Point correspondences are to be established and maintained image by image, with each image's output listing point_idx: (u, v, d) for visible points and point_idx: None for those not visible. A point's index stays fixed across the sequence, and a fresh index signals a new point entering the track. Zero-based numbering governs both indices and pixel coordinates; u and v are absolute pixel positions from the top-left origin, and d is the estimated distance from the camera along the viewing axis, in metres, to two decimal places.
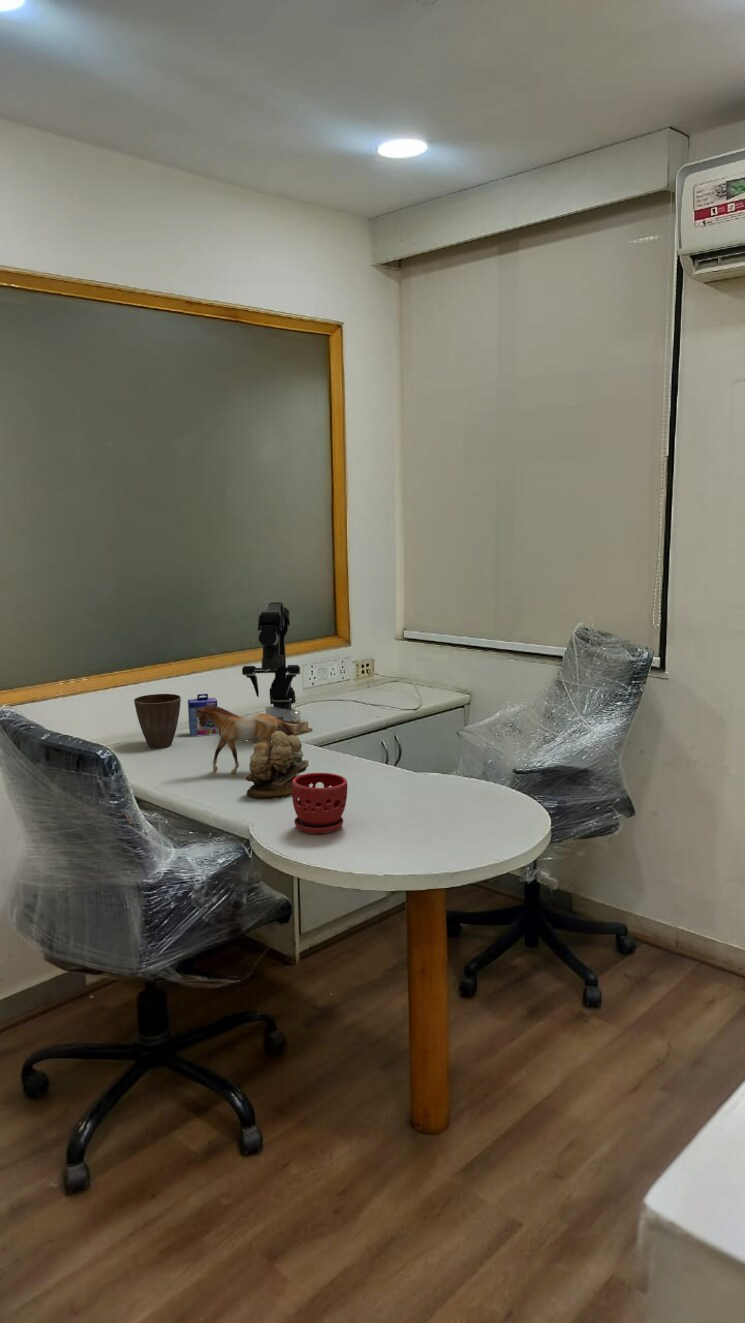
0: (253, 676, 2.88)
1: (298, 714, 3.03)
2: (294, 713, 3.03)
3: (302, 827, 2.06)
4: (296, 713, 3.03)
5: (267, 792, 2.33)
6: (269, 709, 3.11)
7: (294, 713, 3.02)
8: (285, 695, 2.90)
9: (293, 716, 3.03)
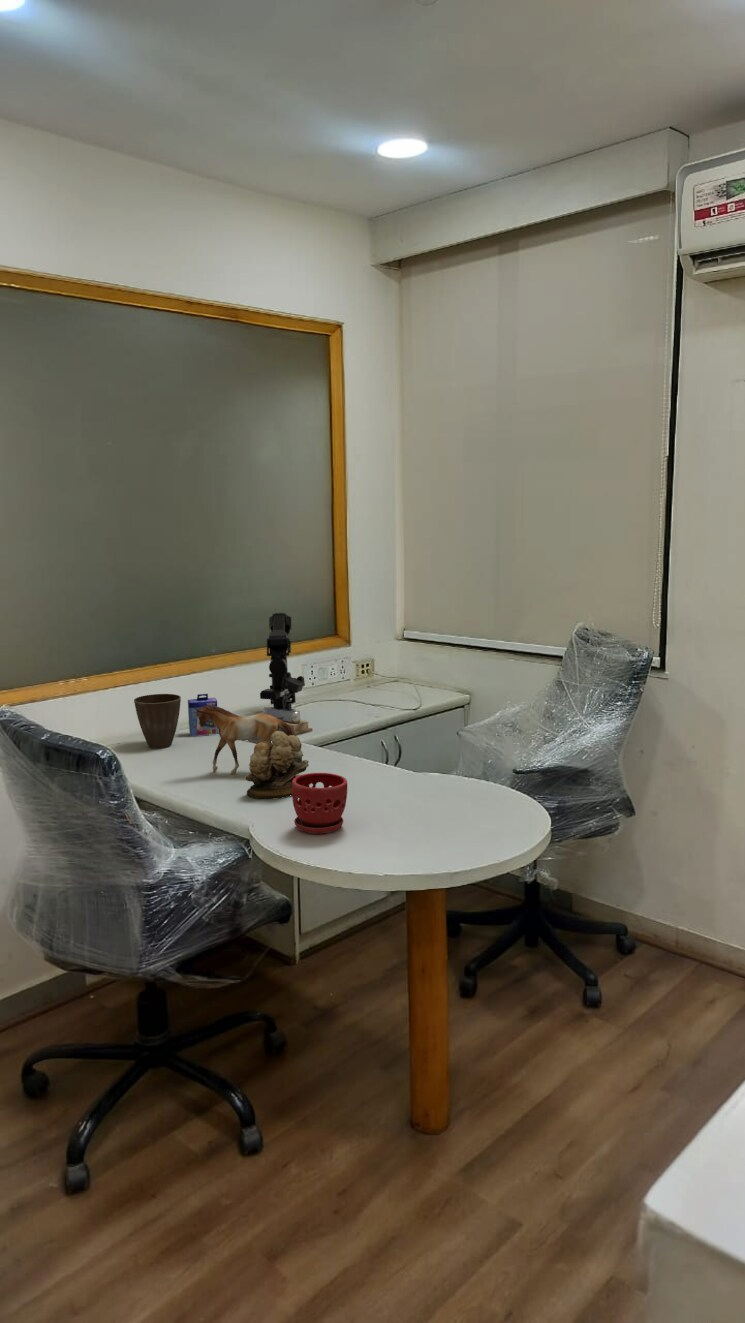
0: (286, 696, 3.08)
1: (298, 714, 3.03)
2: (294, 713, 3.03)
3: (302, 827, 2.06)
4: (296, 713, 3.03)
5: (267, 792, 2.33)
6: (268, 709, 3.10)
7: (295, 713, 3.02)
8: None
9: (293, 716, 3.03)
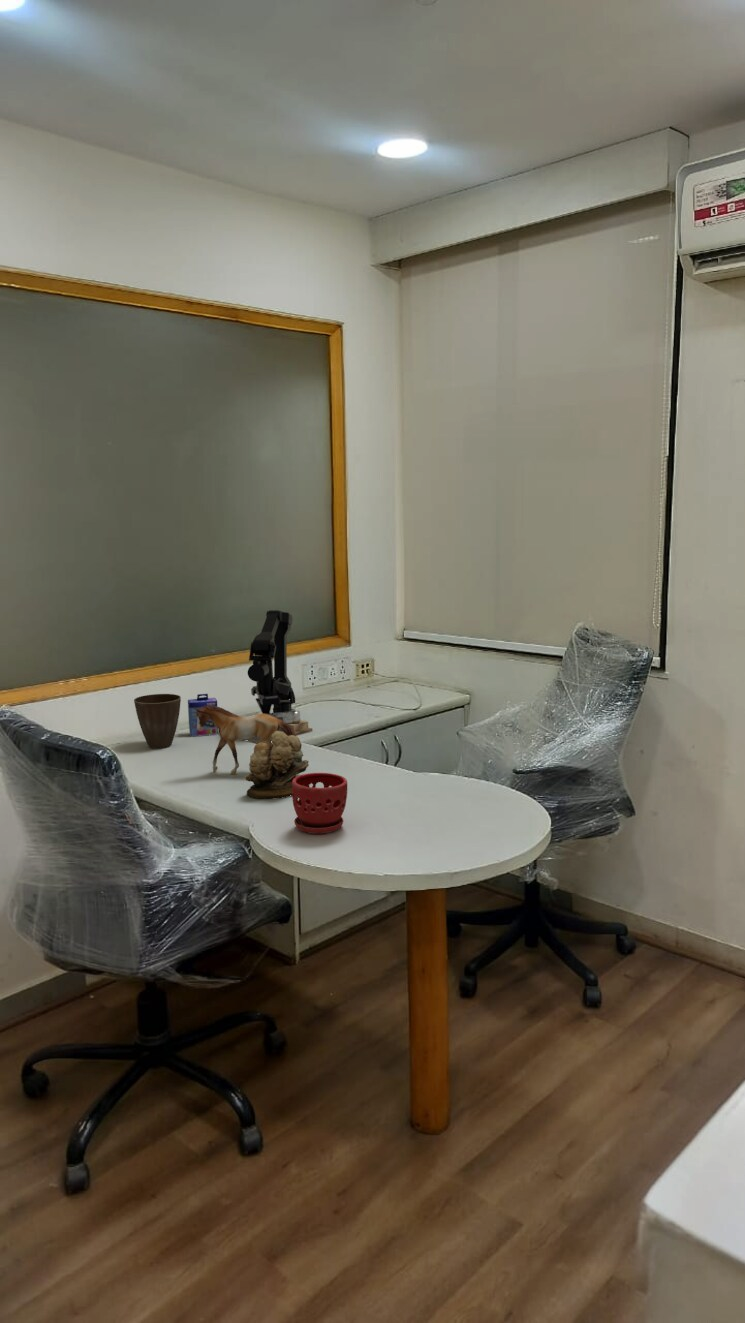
0: None
1: (299, 713, 3.04)
2: (298, 713, 3.03)
3: (302, 827, 2.06)
4: (299, 712, 3.04)
5: (267, 792, 2.33)
6: None
7: (299, 713, 3.03)
8: None
9: (297, 716, 3.03)
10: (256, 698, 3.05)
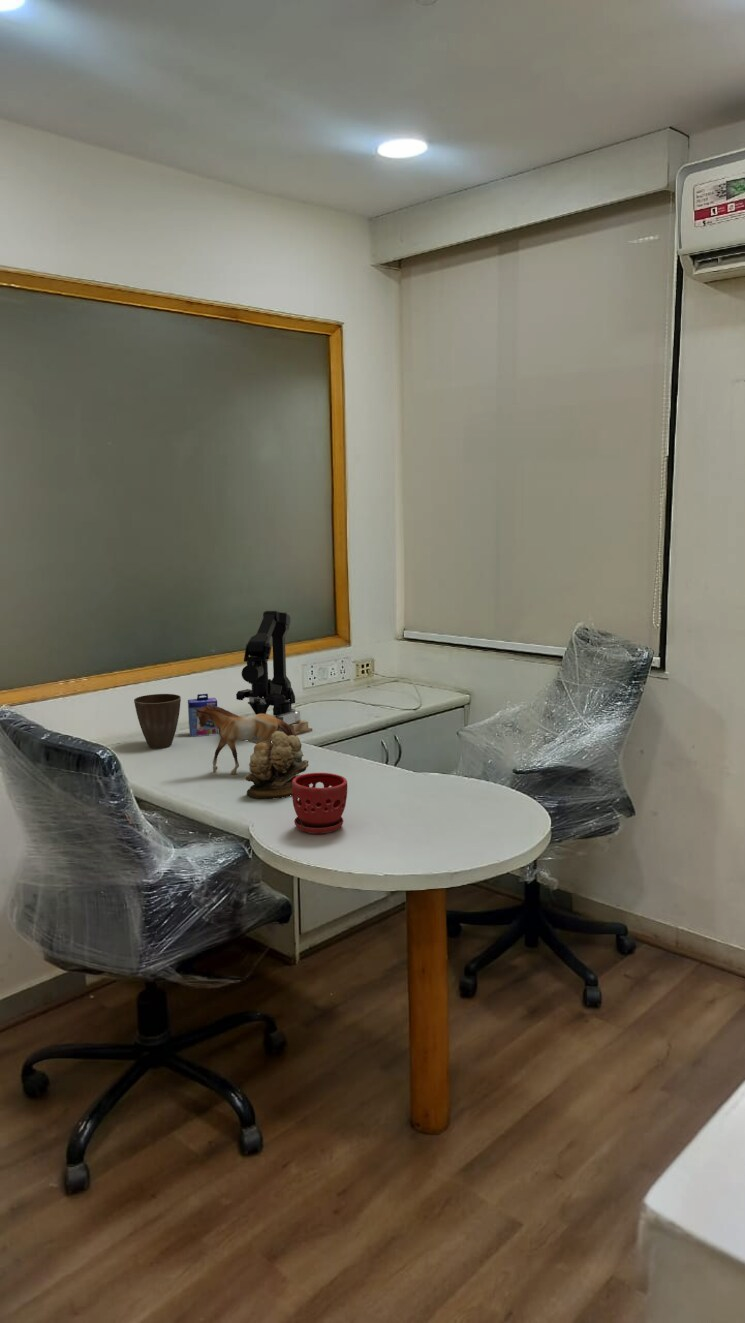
0: None
1: None
2: (299, 712, 3.04)
3: (302, 827, 2.06)
4: None
5: (267, 792, 2.33)
6: None
7: None
8: None
9: (299, 715, 3.04)
10: (248, 702, 3.00)
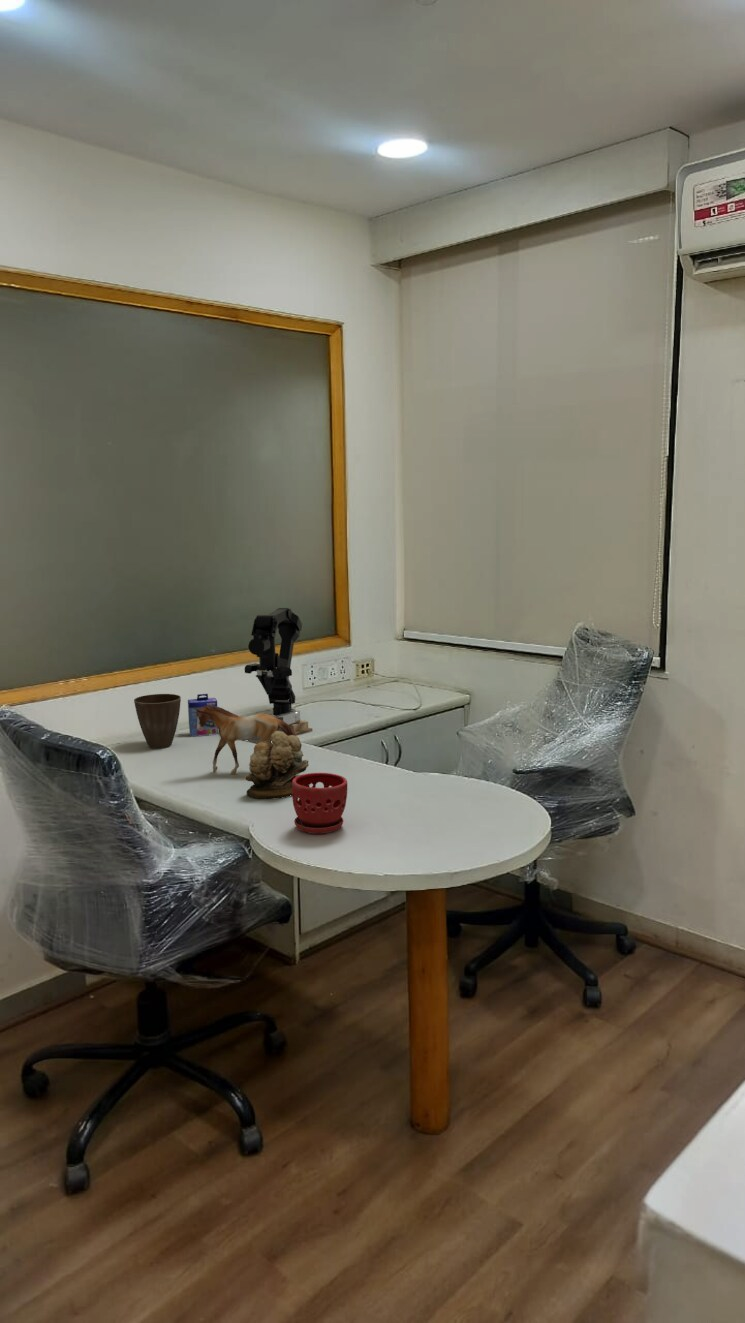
0: None
1: None
2: (299, 712, 3.04)
3: (302, 827, 2.06)
4: None
5: (267, 792, 2.33)
6: None
7: None
8: (269, 693, 3.12)
9: (299, 715, 3.04)
10: None
